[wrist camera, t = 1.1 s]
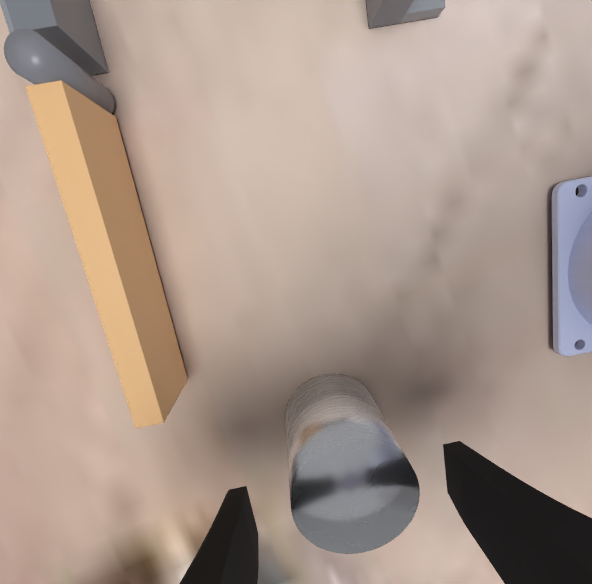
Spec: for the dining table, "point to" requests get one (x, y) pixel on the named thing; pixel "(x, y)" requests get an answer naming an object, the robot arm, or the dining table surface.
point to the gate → (104, 222)
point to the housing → (86, 44)
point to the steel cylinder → (346, 468)
